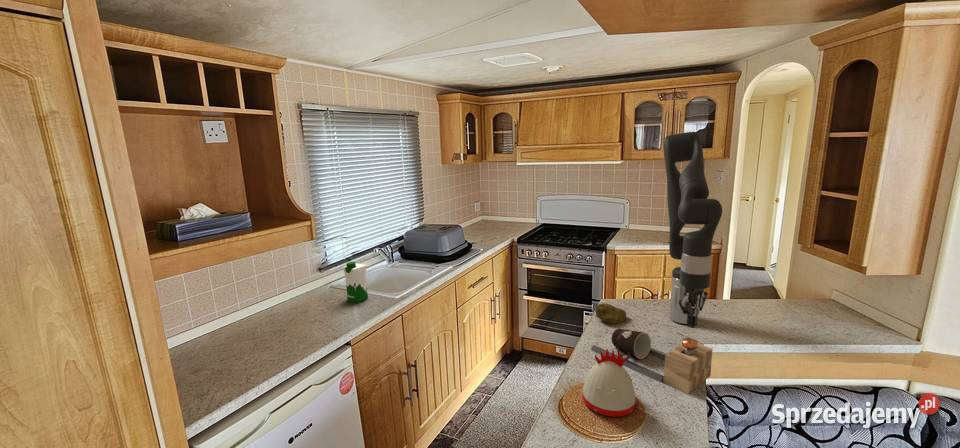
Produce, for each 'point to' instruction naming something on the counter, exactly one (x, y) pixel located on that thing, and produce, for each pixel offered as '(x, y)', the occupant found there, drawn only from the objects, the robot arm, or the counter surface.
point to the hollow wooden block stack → (687, 368)
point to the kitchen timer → (609, 387)
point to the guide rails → (636, 366)
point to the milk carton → (356, 282)
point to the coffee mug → (632, 342)
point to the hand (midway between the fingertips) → (691, 326)
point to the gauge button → (689, 345)
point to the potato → (610, 313)
